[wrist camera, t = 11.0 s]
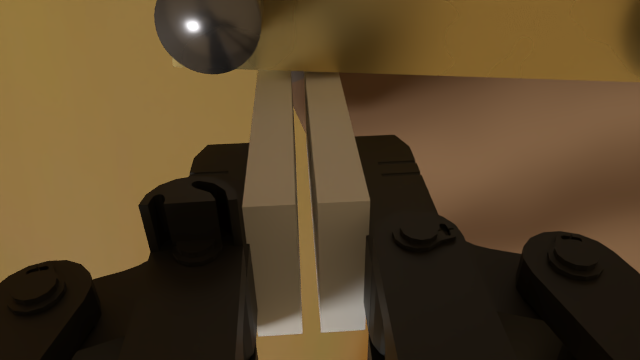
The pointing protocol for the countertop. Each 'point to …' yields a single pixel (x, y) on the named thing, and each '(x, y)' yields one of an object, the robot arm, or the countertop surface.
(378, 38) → the latch bar
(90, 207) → the countertop surface
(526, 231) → the door board
